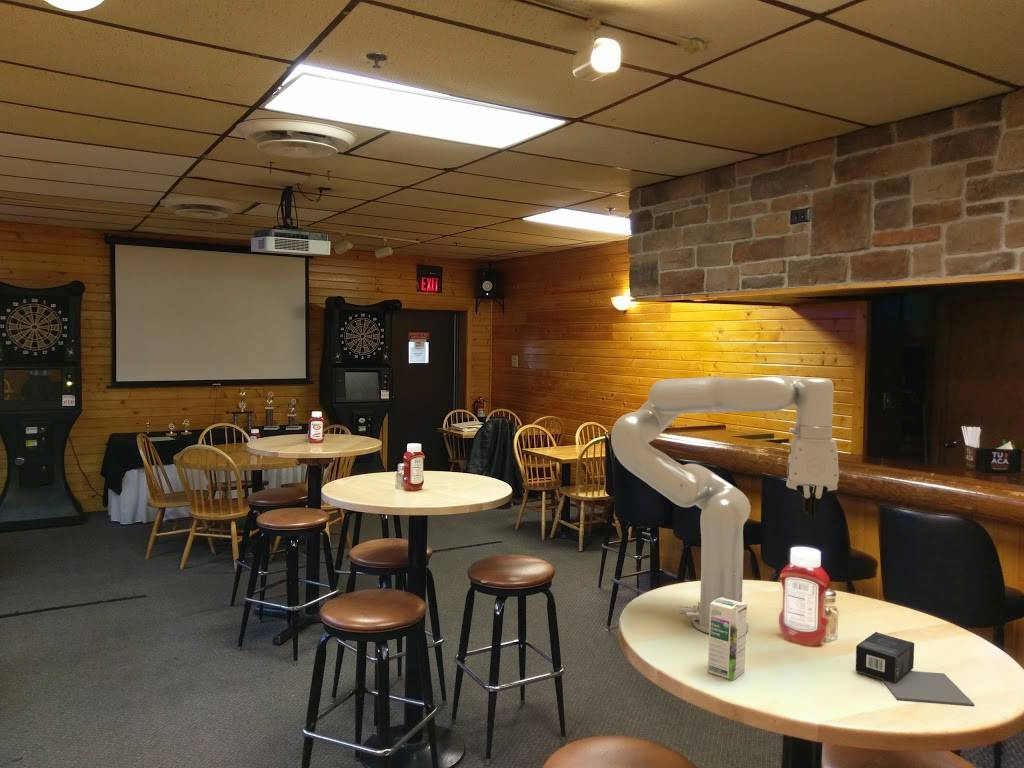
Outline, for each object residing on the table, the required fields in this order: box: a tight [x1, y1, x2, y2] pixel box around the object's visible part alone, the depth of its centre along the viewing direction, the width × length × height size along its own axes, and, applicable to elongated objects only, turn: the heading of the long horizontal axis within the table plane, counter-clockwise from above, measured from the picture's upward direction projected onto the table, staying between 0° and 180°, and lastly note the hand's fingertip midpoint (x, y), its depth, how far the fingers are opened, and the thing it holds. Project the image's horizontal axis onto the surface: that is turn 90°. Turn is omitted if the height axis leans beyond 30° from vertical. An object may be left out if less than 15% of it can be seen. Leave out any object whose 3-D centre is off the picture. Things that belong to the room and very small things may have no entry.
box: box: [855, 631, 915, 683], centre depth 152 cm, size 8×6×11 cm
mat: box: [880, 670, 975, 707], centre depth 145 cm, size 14×13×1 cm
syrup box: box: [707, 597, 748, 681], centre depth 150 cm, size 6×6×14 cm
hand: (810, 514), depth 165 cm, fingers closed
